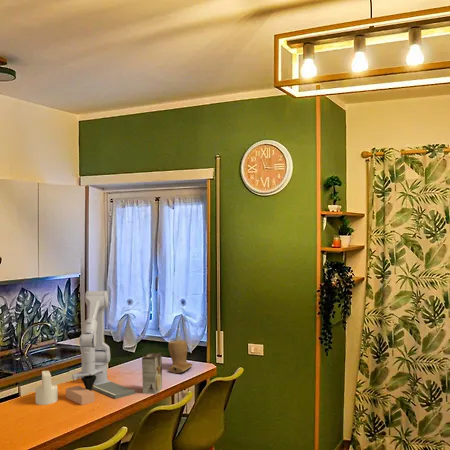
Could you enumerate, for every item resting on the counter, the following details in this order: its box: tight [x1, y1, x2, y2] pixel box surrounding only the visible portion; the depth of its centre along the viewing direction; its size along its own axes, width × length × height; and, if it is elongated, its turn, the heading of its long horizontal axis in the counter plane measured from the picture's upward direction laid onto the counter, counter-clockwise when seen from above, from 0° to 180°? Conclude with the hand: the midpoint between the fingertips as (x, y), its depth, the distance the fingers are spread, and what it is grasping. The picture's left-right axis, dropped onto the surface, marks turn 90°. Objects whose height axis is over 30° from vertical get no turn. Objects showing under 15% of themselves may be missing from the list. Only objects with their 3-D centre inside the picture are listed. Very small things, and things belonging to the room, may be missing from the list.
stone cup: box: [167, 339, 194, 374], centre depth 280 cm, size 15×12×15 cm
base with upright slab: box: [35, 370, 59, 406], centre depth 234 cm, size 9×9×12 cm
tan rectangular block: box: [65, 385, 96, 406], centre depth 235 cm, size 14×6×4 cm, turn 43°
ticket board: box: [92, 381, 136, 400], centre depth 246 cm, size 20×10×2 cm, turn 43°
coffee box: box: [141, 352, 163, 395], centre depth 246 cm, size 9×6×16 cm
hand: (88, 392), depth 238 cm, fingers closed
